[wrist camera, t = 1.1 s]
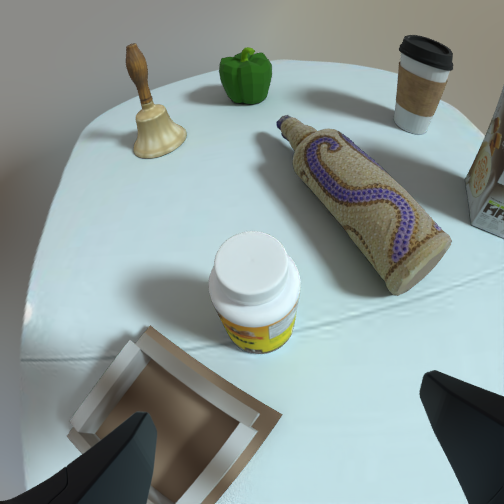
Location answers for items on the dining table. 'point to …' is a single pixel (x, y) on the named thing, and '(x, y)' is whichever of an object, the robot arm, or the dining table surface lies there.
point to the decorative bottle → (367, 204)
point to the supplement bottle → (255, 291)
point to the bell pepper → (246, 76)
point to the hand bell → (151, 113)
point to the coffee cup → (420, 82)
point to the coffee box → (489, 178)
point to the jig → (177, 419)
